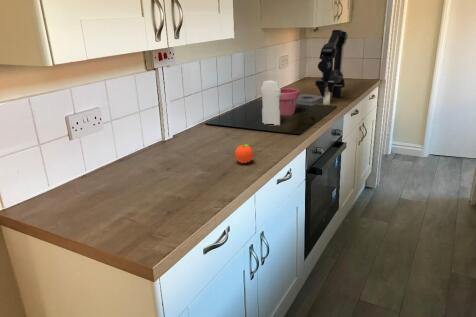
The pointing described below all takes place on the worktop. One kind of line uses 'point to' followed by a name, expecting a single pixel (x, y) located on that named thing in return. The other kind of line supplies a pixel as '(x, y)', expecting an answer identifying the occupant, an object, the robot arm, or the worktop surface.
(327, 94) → the peg
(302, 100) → the hole plate
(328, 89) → the robot arm
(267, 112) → the tall pale column
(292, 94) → the plant pot
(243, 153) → the clementine
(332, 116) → the worktop surface
